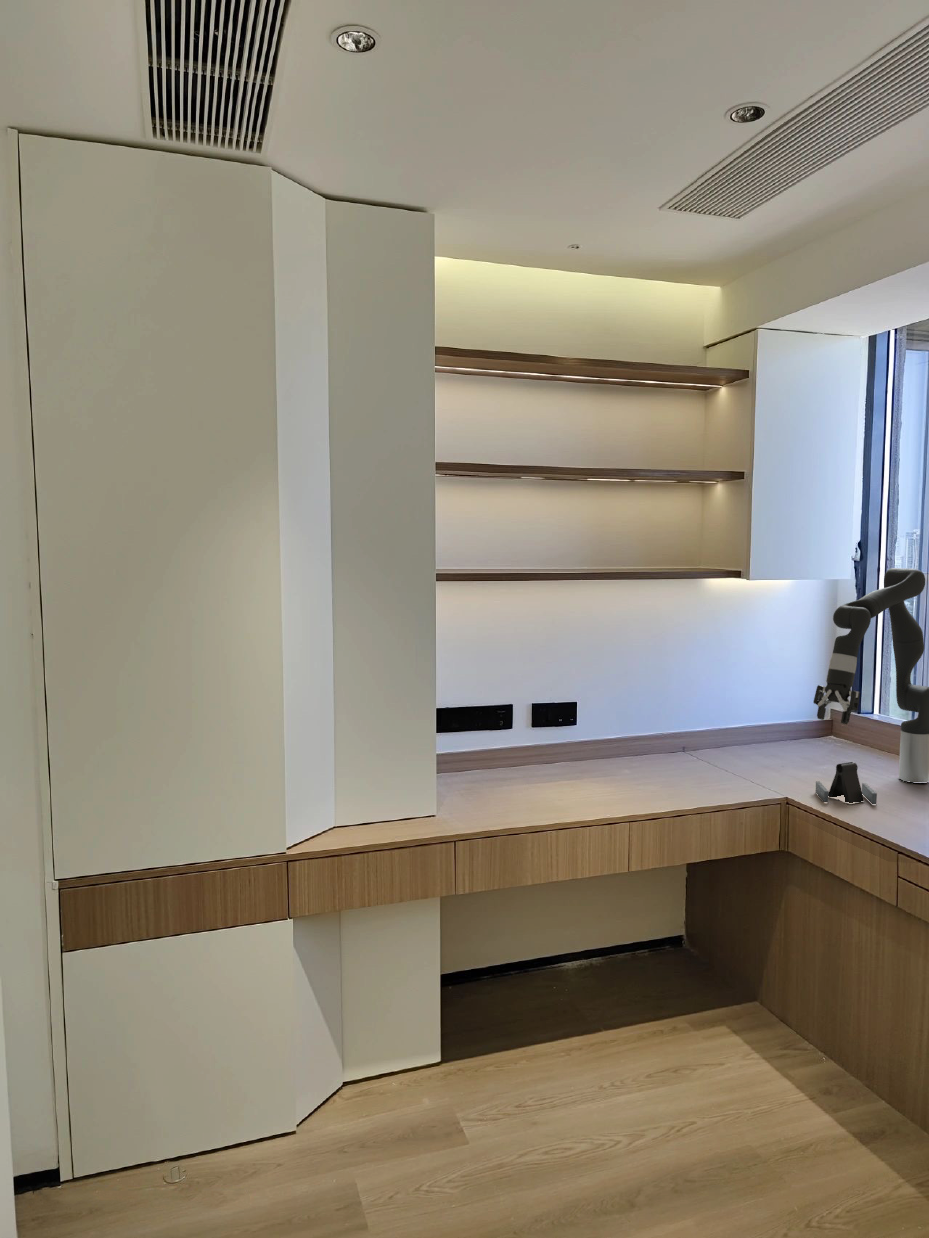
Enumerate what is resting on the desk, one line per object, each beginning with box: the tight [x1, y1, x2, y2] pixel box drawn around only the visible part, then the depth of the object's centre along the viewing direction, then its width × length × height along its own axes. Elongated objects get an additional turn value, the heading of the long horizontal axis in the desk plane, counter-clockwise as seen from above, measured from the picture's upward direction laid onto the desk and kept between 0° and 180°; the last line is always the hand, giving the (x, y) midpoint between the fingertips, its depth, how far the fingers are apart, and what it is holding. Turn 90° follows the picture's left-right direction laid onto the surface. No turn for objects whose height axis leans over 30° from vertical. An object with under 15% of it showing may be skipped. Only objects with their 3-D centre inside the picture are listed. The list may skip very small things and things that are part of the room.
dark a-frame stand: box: [828, 761, 865, 803], centre depth 262 cm, size 9×6×12 cm, turn 22°
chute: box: [815, 780, 878, 805], centre depth 263 cm, size 11×15×4 cm
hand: (832, 721), depth 253 cm, fingers open, 8 cm apart
